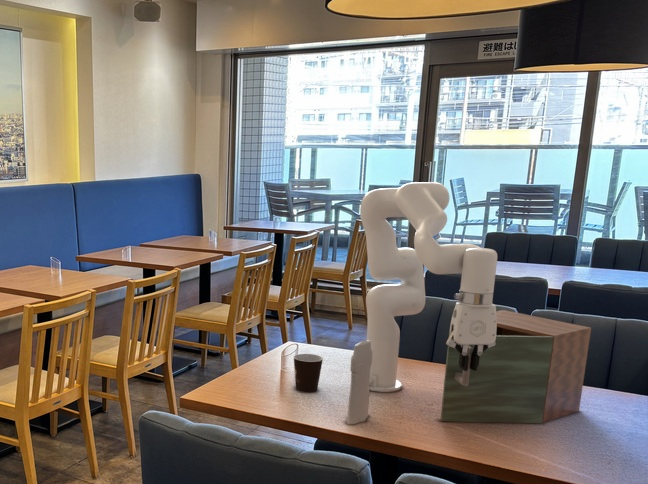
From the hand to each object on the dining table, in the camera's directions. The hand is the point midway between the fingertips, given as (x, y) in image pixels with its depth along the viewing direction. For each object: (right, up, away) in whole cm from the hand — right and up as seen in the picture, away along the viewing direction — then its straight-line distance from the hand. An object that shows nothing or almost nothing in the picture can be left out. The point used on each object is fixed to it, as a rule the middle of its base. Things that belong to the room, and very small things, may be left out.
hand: (468, 368), depth 182 cm
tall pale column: (-25, -15, +12) cm, 31 cm away
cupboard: (+25, -11, +24) cm, 37 cm away
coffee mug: (-32, -8, +38) cm, 51 cm away
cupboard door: (+10, -15, +7) cm, 20 cm away
